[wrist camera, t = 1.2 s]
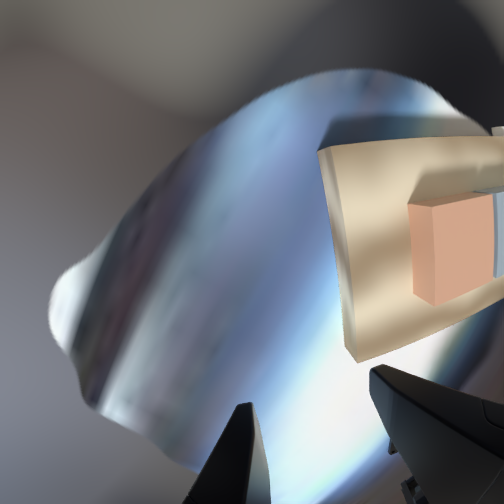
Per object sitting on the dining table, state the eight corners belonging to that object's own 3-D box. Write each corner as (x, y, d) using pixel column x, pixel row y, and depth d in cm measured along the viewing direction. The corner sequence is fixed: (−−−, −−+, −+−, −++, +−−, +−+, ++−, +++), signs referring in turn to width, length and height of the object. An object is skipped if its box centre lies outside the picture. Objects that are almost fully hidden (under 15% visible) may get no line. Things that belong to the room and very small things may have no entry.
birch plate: (498, 283, 21) (515, 290, 19) (344, 346, 21) (357, 363, 18) (491, 138, 18) (510, 136, 16) (316, 151, 18) (330, 146, 15)
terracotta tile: (471, 271, 18) (492, 280, 15) (412, 293, 18) (434, 306, 15) (468, 191, 16) (492, 194, 14) (407, 203, 16) (431, 207, 14)
